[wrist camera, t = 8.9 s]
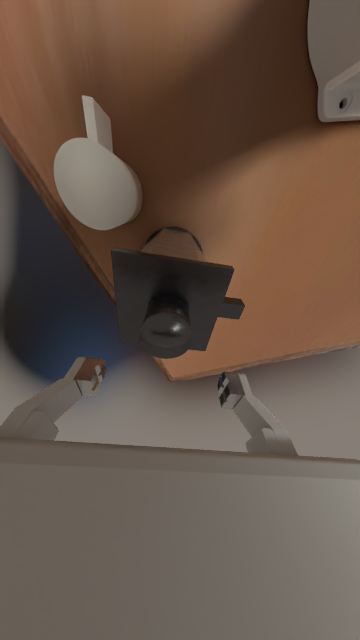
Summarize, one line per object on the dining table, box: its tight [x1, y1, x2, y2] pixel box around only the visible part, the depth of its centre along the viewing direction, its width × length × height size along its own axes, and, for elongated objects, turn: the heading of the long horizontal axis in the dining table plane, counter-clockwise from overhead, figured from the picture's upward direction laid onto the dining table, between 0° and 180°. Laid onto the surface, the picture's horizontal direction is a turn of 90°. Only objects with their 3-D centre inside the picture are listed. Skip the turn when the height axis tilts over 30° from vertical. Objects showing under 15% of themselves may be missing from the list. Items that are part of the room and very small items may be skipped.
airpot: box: [111, 227, 245, 351], centre depth 24 cm, size 15×12×18 cm
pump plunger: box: [139, 295, 191, 359], centre depth 22 cm, size 4×4×21 cm
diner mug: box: [54, 95, 143, 230], centre depth 21 cm, size 8×11×9 cm
